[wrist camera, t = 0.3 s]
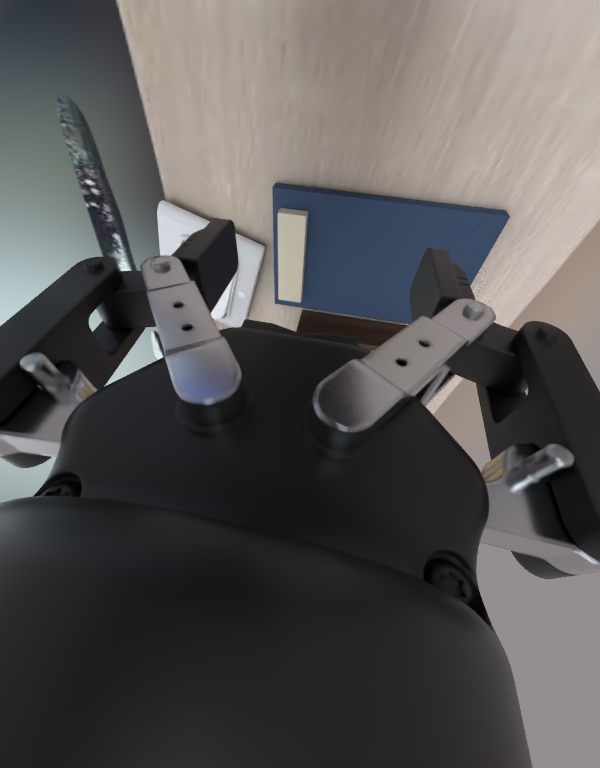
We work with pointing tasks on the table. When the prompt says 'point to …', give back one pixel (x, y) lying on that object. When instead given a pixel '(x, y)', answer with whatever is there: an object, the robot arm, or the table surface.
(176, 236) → the light switch
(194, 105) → the table surface
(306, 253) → the bed mat
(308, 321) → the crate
